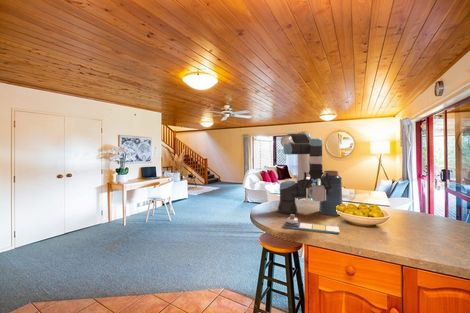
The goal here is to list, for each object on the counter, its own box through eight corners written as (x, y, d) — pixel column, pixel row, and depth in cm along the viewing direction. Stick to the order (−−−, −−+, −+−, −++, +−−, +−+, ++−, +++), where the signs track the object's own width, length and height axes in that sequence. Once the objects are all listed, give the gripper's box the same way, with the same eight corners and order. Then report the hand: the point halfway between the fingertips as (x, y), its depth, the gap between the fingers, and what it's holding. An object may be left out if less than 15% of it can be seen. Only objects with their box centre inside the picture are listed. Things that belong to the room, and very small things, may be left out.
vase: (321, 215, 160) (321, 172, 159) (317, 209, 176) (317, 170, 175) (345, 216, 156) (345, 172, 155) (339, 210, 172) (339, 170, 171)
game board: (286, 222, 145) (286, 219, 145) (338, 228, 133) (338, 224, 133) (283, 227, 135) (283, 224, 134) (339, 234, 123) (339, 231, 123)
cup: (323, 201, 130) (323, 186, 130) (306, 200, 135) (306, 185, 136) (325, 200, 136) (325, 185, 136) (309, 198, 142) (309, 184, 142)
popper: (287, 219, 142) (287, 212, 142) (298, 220, 140) (298, 213, 140) (286, 222, 136) (286, 215, 136) (297, 224, 134) (297, 216, 134)
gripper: (296, 163, 137) (296, 199, 136) (336, 163, 128) (336, 202, 128) (297, 163, 144) (297, 197, 143) (335, 163, 135) (335, 199, 135)
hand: (316, 199), depth 136 cm, fingers closed on cup, 10 cm apart
